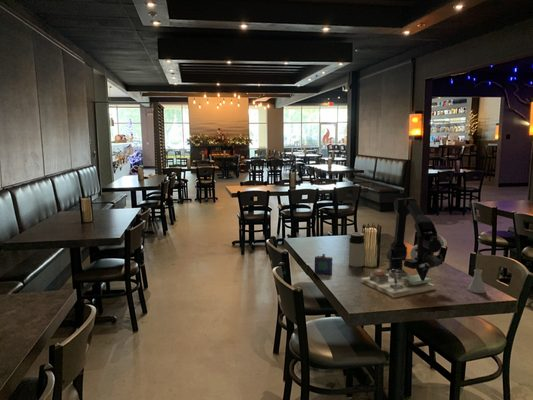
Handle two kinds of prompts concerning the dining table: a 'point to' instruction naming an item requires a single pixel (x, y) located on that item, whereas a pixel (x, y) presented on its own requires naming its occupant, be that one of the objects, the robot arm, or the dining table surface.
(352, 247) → the travel mug
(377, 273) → the terracotta button
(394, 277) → the toggle lever
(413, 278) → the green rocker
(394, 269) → the black button
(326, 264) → the flask
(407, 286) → the control panel
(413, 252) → the donut
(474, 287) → the flask
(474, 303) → the dining table surface
